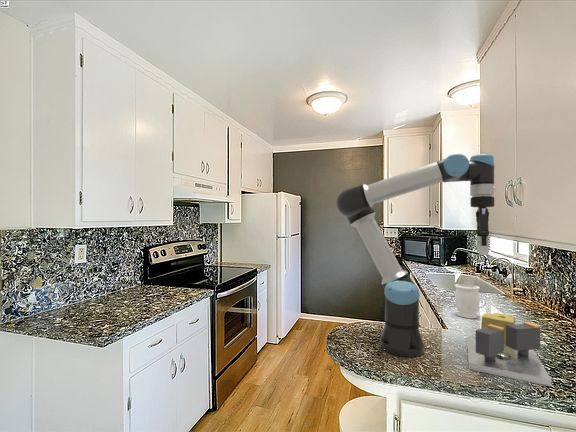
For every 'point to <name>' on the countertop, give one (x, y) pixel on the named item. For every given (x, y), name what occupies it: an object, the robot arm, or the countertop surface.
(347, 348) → the countertop surface
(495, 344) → the knob
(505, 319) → the cheese
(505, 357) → the level plate
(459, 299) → the jar
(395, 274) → the robot arm
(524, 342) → the orange-capped gray block
